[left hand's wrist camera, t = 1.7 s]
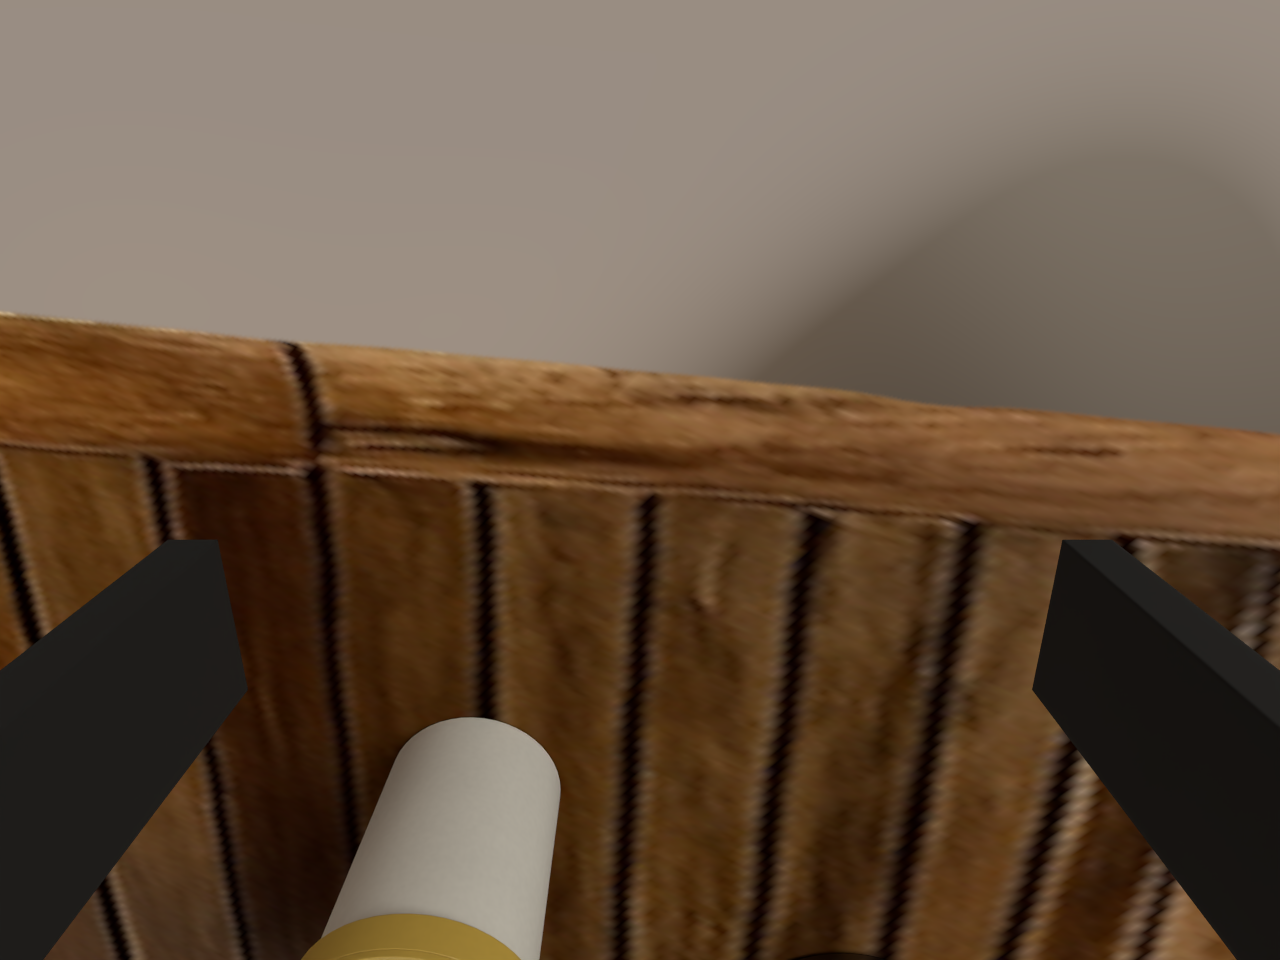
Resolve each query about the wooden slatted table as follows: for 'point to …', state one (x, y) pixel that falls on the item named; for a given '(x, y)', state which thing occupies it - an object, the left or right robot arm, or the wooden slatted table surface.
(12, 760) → the left robot arm
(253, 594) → the wooden slatted table surface
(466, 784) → the jar
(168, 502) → the wooden slatted table surface
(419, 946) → the lid
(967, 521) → the wooden slatted table surface
